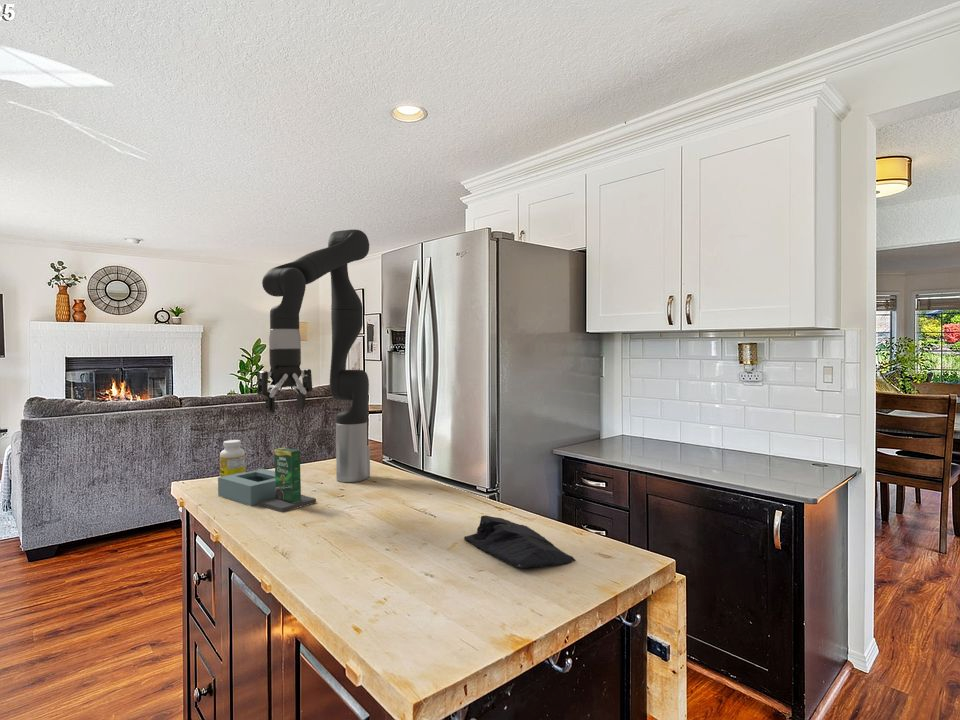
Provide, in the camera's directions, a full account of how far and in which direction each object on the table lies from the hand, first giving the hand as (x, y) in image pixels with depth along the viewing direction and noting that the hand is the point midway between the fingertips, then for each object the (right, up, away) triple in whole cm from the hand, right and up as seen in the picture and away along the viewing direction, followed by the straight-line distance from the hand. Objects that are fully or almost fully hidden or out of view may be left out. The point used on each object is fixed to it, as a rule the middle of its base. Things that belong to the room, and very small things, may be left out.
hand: (286, 410), depth 136 cm
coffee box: (0, -23, +1) cm, 23 cm away
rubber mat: (0, -24, +1) cm, 24 cm away
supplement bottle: (-23, -24, +20) cm, 39 cm away
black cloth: (+57, -25, -30) cm, 69 cm away
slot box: (-11, -24, +9) cm, 28 cm away
